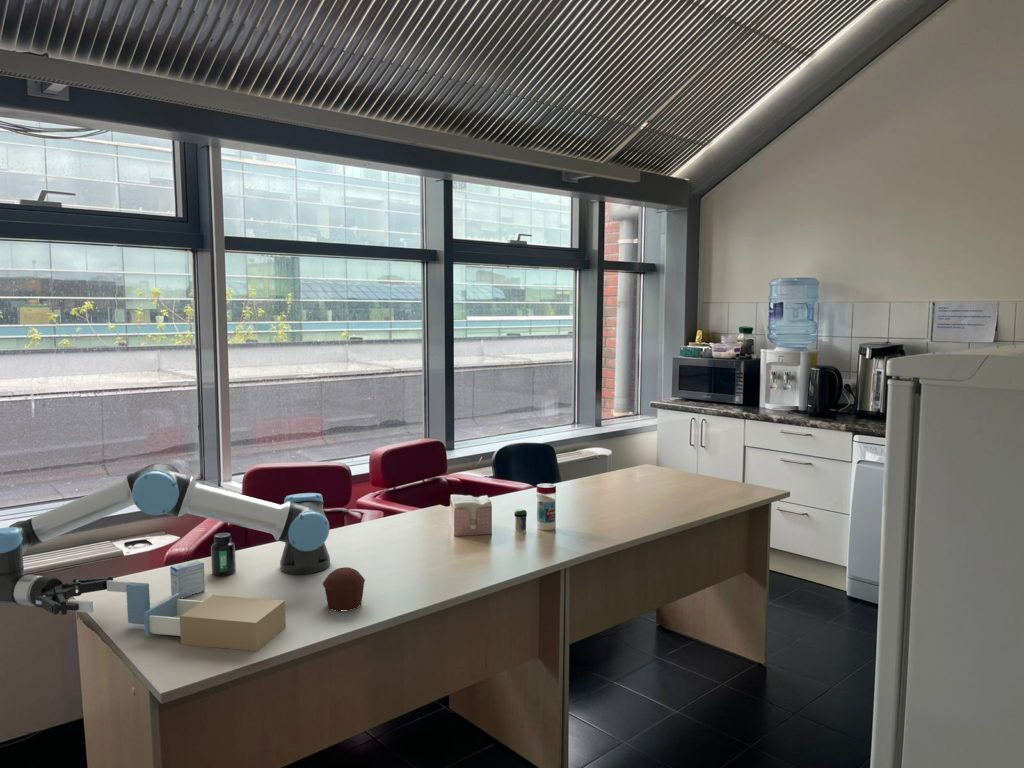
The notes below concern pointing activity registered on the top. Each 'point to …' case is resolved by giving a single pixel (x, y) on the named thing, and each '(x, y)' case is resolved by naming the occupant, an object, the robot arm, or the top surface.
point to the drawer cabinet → (233, 622)
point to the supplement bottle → (223, 555)
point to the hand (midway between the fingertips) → (111, 596)
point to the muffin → (344, 589)
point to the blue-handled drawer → (156, 610)
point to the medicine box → (187, 578)
